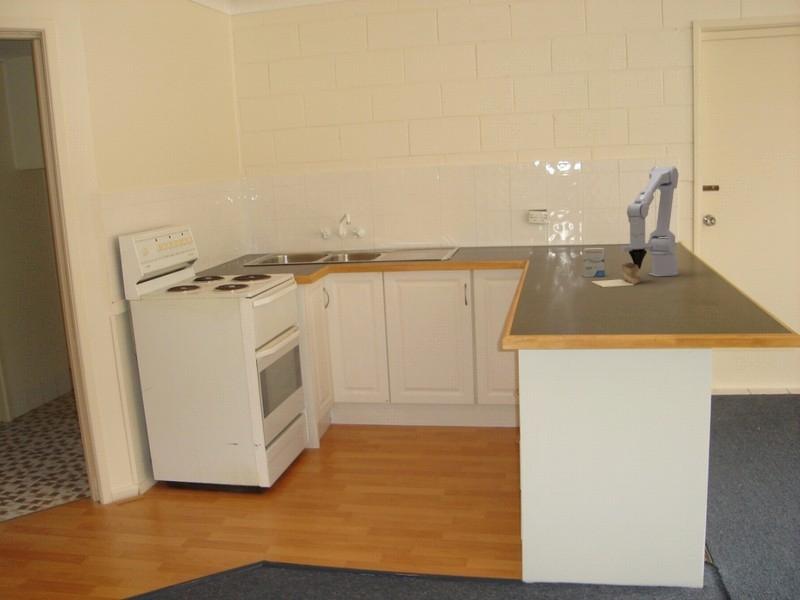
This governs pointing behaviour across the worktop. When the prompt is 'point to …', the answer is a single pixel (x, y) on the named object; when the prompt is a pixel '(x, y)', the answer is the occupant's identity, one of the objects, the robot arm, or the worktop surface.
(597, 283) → the mat
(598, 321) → the worktop surface
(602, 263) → the ink box
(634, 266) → the oak slab
